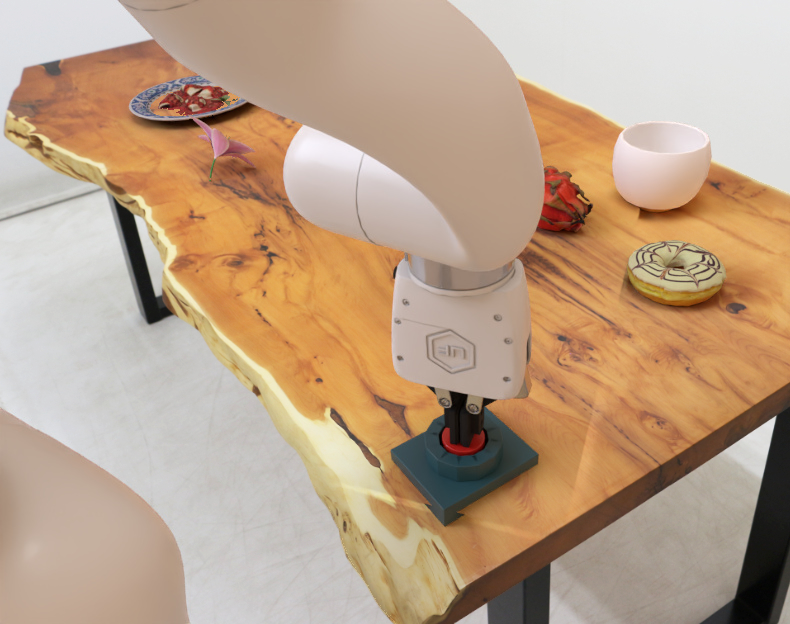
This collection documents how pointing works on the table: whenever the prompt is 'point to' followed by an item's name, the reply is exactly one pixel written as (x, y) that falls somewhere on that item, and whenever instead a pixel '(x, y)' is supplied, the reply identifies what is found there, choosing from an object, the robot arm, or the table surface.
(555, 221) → the dragon fruit
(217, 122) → the table surface
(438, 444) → the button box
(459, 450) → the button
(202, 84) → the ceramic plate
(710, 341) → the table surface
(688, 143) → the cup
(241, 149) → the lily
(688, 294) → the decorated donut
